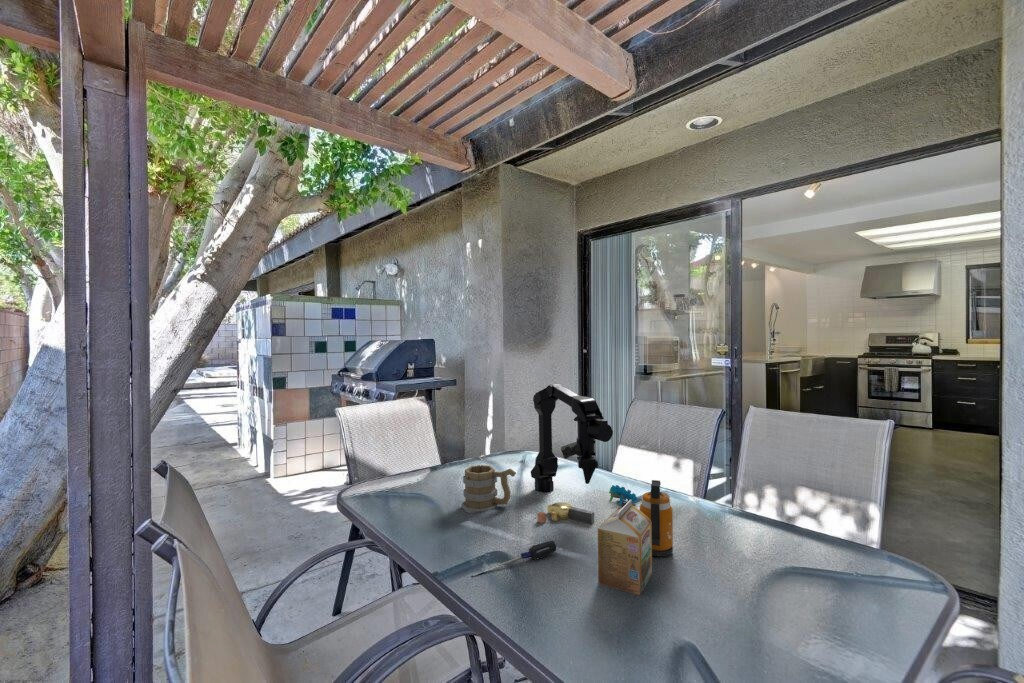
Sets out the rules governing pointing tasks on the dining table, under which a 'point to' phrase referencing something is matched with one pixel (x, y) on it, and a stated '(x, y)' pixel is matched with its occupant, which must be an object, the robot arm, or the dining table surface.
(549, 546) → the screwdriver
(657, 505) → the canister
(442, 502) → the dining table surface
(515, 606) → the dining table surface
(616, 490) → the blue branched piece
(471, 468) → the tankard
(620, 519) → the milk carton
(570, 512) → the gold lugged knob
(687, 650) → the dining table surface
